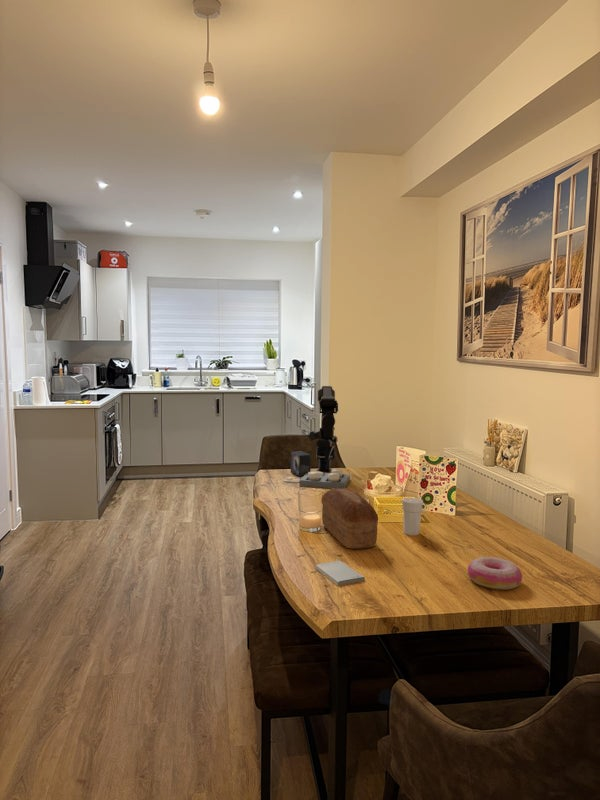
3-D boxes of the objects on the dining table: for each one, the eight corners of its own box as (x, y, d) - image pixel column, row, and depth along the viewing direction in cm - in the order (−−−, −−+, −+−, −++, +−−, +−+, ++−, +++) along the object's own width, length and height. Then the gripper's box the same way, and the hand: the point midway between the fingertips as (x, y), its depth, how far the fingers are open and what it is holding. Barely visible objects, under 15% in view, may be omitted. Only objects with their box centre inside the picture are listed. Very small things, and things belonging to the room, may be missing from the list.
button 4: (332, 474, 256) (332, 468, 256) (342, 475, 255) (343, 469, 255) (330, 477, 251) (330, 470, 251) (341, 478, 250) (341, 471, 250)
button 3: (329, 479, 247) (329, 472, 247) (340, 479, 246) (340, 473, 246) (327, 481, 243) (327, 475, 242) (338, 482, 241) (338, 475, 241)
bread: (349, 522, 193) (350, 482, 191) (382, 550, 166) (383, 503, 164) (317, 524, 189) (318, 483, 188) (344, 553, 162) (346, 505, 161)
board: (290, 475, 263) (290, 470, 263) (349, 479, 256) (349, 474, 256) (280, 484, 245) (281, 478, 245) (344, 488, 239) (344, 483, 239)
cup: (398, 534, 180) (400, 501, 179) (404, 528, 186) (405, 496, 185) (418, 537, 177) (420, 504, 177) (423, 531, 183) (424, 499, 182)
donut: (470, 568, 153) (470, 551, 152) (521, 576, 148) (522, 558, 147) (464, 587, 140) (465, 568, 140) (521, 597, 135) (522, 577, 135)
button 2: (313, 477, 258) (313, 471, 258) (323, 478, 257) (323, 471, 257) (311, 479, 253) (311, 473, 253) (321, 480, 252) (321, 474, 252)
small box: (289, 472, 270) (289, 451, 269) (301, 471, 273) (301, 450, 272) (298, 477, 261) (298, 455, 260) (310, 475, 263) (311, 454, 263)
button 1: (309, 477, 249) (309, 471, 249) (320, 478, 248) (320, 472, 248) (307, 480, 245) (307, 473, 244) (318, 481, 243) (318, 474, 243)
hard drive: (364, 576, 143) (340, 559, 154) (337, 581, 140) (315, 564, 151) (364, 582, 143) (340, 565, 154) (337, 588, 140) (314, 570, 151)
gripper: (314, 422, 258) (313, 455, 258) (305, 426, 239) (304, 462, 240) (338, 423, 255) (337, 457, 256) (330, 428, 237) (329, 463, 238)
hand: (326, 460), depth 247 cm, fingers closed
